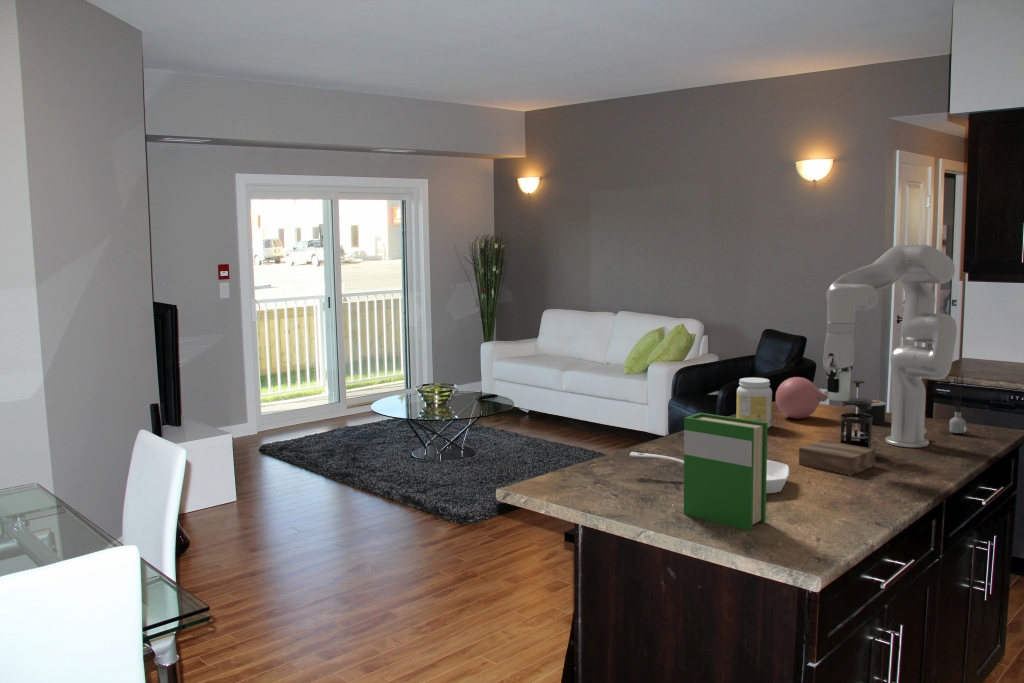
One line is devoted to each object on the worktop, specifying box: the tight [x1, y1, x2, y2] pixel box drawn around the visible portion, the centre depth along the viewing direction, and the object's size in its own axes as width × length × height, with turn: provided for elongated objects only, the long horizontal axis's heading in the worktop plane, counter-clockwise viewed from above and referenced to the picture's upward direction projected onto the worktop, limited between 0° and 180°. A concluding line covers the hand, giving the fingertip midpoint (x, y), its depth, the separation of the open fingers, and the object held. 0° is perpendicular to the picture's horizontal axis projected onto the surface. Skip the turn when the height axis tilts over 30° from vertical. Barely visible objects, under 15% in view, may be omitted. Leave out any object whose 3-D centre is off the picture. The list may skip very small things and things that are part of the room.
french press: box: [839, 379, 873, 449], centre depth 247 cm, size 12×9×23 cm
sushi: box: [858, 399, 886, 425], centre depth 290 cm, size 8×8×8 cm
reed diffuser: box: [945, 374, 968, 434], centre depth 271 cm, size 10×7×20 cm
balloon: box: [775, 376, 829, 420], centre depth 297 cm, size 15×20×15 cm
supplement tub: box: [735, 377, 773, 429], centre depth 287 cm, size 12×12×17 cm
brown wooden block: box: [798, 439, 876, 476], centre depth 236 cm, size 14×16×5 cm
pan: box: [629, 451, 790, 495], centre depth 224 cm, size 28×43×7 cm, turn 70°
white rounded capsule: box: [827, 370, 852, 402], centre depth 234 cm, size 6×6×8 cm
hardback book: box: [683, 412, 768, 532], centre depth 192 cm, size 18×7×24 cm, turn 46°
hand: (838, 390), depth 234 cm, fingers closed on white rounded capsule, 6 cm apart
